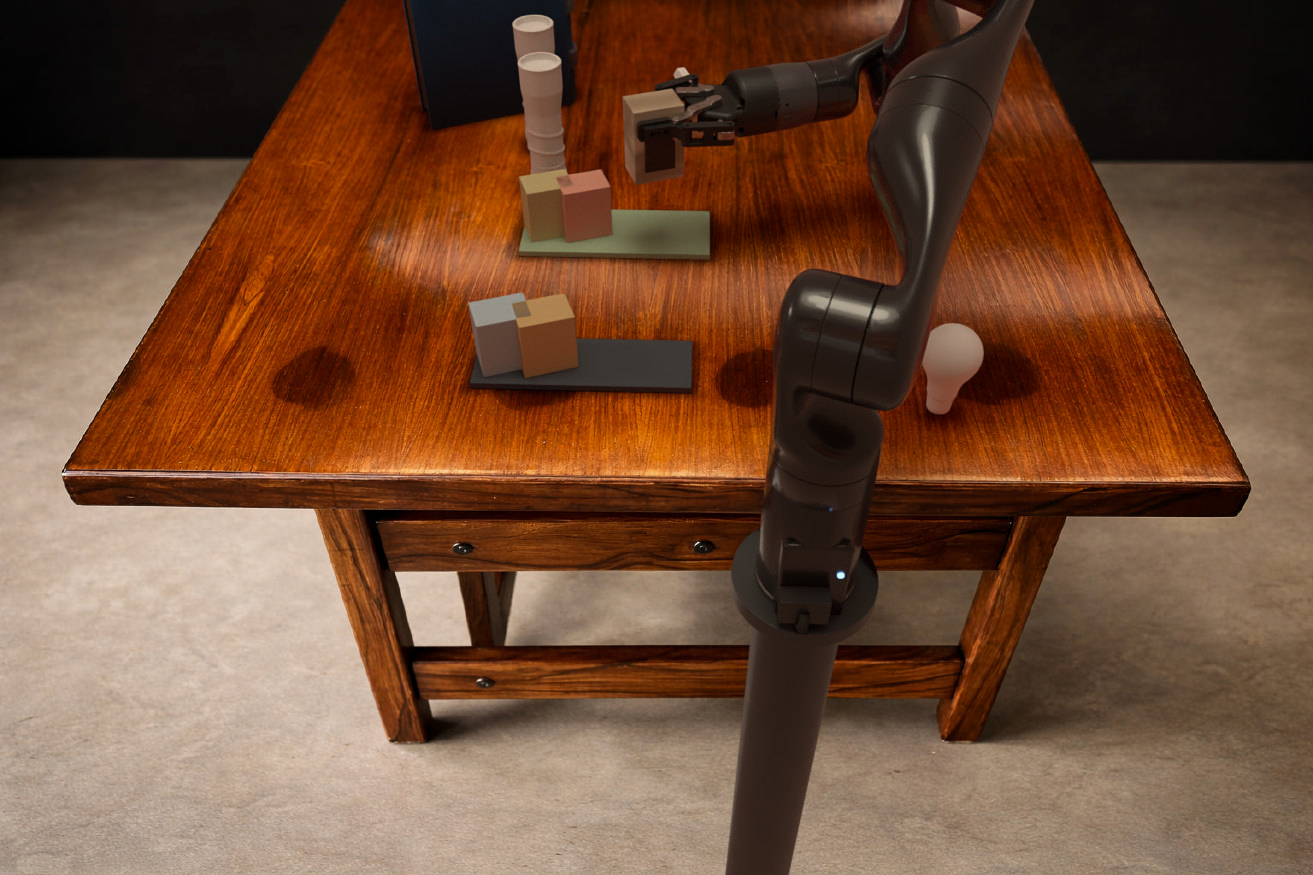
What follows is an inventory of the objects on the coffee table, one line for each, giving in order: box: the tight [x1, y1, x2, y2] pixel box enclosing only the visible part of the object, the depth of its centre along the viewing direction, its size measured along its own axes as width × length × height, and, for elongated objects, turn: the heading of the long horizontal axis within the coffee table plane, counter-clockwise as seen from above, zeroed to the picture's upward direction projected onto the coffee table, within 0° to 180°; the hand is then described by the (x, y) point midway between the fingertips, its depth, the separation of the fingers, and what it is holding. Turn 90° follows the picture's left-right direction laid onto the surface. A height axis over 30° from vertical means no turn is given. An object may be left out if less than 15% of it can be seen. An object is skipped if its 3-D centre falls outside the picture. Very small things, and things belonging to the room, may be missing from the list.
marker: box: [673, 66, 690, 79], centre depth 157 cm, size 3×2×16 cm
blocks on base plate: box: [467, 292, 693, 394], centre depth 111 cm, size 8×24×8 cm, turn 88°
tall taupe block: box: [622, 89, 685, 186], centre depth 119 cm, size 5×6×9 cm
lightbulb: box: [921, 322, 985, 415], centre depth 104 cm, size 6×6×11 cm
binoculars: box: [512, 15, 568, 175], centre depth 138 cm, size 17×5×18 cm, turn 9°
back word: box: [518, 168, 711, 261], centre depth 129 cm, size 10×24×8 cm, turn 88°
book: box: [402, 0, 579, 131], centre depth 148 cm, size 24×9×30 cm, turn 111°
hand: (631, 121), depth 116 cm, fingers closed on tall taupe block, 4 cm apart
